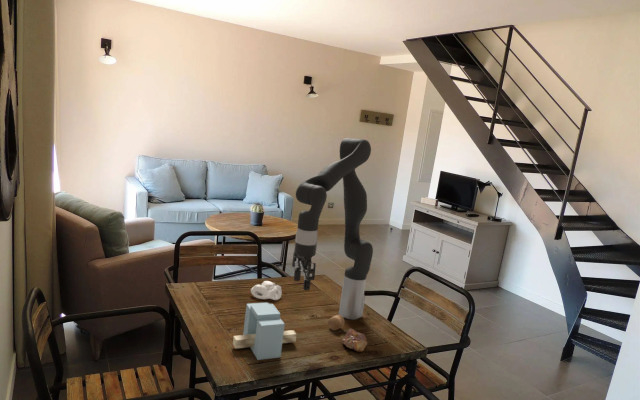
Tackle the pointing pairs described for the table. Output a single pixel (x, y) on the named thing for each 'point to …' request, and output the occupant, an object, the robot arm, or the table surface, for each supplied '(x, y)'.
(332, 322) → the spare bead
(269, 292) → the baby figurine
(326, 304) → the table surface
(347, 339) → the mineral specimen
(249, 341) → the long cream stick
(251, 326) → the light blue notched block
